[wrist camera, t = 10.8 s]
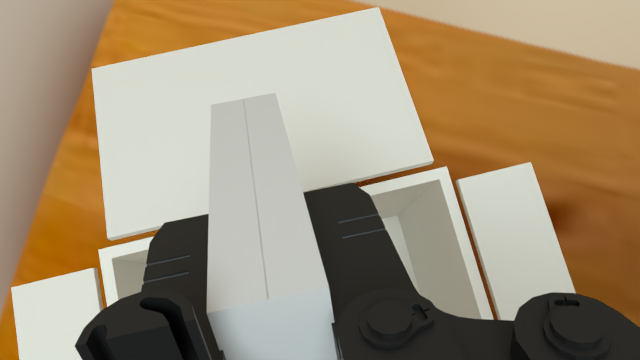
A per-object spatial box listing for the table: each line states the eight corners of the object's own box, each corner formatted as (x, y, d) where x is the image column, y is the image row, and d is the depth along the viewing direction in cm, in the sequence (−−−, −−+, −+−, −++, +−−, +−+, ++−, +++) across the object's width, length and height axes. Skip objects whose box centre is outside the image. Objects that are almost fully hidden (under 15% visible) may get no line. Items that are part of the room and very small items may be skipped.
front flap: (432, 164, 23) (377, 13, 26) (433, 160, 23) (378, 6, 26) (112, 240, 22) (95, 74, 25) (107, 238, 22) (91, 68, 25)
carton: (453, 195, 35) (525, 146, 23) (521, 419, 32) (645, 495, 20) (115, 277, 34) (9, 270, 22) (154, 521, 31) (56, 668, 19)
